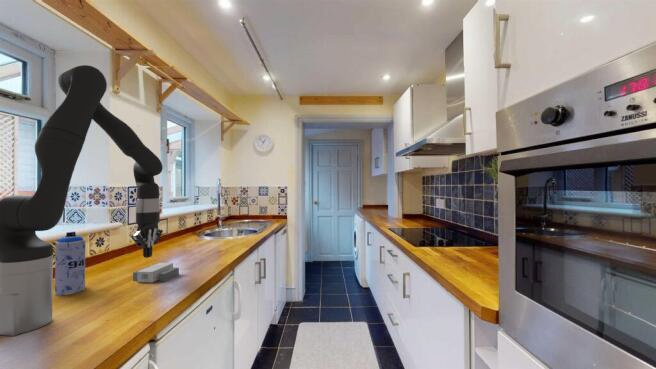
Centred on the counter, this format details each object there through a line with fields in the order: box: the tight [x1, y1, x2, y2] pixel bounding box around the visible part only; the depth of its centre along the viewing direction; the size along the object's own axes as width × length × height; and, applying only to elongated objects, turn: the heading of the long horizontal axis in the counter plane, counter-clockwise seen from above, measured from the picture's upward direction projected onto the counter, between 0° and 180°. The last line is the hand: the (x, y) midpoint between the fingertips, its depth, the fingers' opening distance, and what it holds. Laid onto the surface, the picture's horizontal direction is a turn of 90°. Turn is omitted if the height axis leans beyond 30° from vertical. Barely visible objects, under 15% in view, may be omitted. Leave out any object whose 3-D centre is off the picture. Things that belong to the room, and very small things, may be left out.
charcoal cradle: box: [132, 265, 180, 283], centre depth 106 cm, size 8×13×3 cm, turn 83°
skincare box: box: [137, 262, 174, 284], centre depth 106 cm, size 6×4×12 cm
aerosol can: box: [53, 231, 87, 296], centre depth 93 cm, size 8×8×20 cm
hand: (147, 257), depth 102 cm, fingers closed
